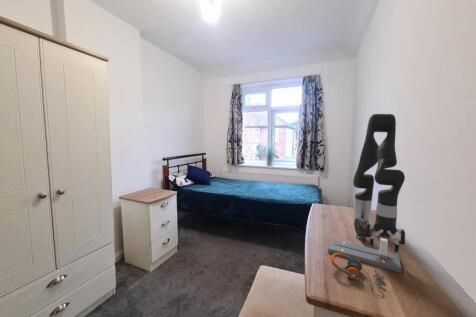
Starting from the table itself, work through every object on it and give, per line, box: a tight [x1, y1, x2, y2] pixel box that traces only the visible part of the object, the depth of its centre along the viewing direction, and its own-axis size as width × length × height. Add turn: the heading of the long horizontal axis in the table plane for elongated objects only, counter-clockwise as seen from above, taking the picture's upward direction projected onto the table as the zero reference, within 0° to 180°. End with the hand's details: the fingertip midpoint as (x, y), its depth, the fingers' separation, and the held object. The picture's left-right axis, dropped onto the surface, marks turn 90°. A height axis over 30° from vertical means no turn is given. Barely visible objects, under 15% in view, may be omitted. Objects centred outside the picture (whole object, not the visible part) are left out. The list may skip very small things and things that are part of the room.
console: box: [327, 238, 402, 273], centre depth 97 cm, size 12×28×2 cm, turn 58°
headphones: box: [330, 253, 387, 297], centre depth 82 cm, size 17×5×20 cm
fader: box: [378, 237, 389, 259], centre depth 93 cm, size 5×3×7 cm, turn 148°
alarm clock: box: [353, 210, 371, 243], centre depth 114 cm, size 11×5×16 cm, turn 168°
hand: (383, 248), depth 93 cm, fingers open, 8 cm apart
